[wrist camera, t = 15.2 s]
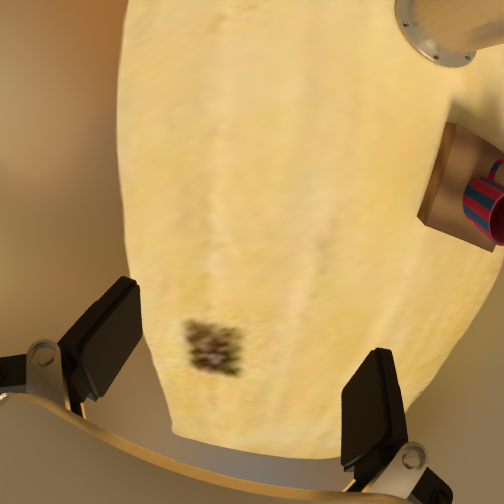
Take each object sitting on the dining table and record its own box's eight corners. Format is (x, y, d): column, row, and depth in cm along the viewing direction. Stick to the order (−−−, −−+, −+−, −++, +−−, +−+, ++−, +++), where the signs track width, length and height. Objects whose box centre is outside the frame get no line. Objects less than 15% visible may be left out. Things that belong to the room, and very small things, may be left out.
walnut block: (443, 122, 27) (457, 124, 24) (508, 161, 26) (523, 167, 23) (415, 214, 34) (425, 225, 31) (480, 241, 33) (492, 252, 30)
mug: (455, 216, 29) (480, 238, 23) (476, 145, 24) (506, 155, 18) (488, 229, 28) (512, 251, 22) (508, 164, 24) (537, 177, 18)
